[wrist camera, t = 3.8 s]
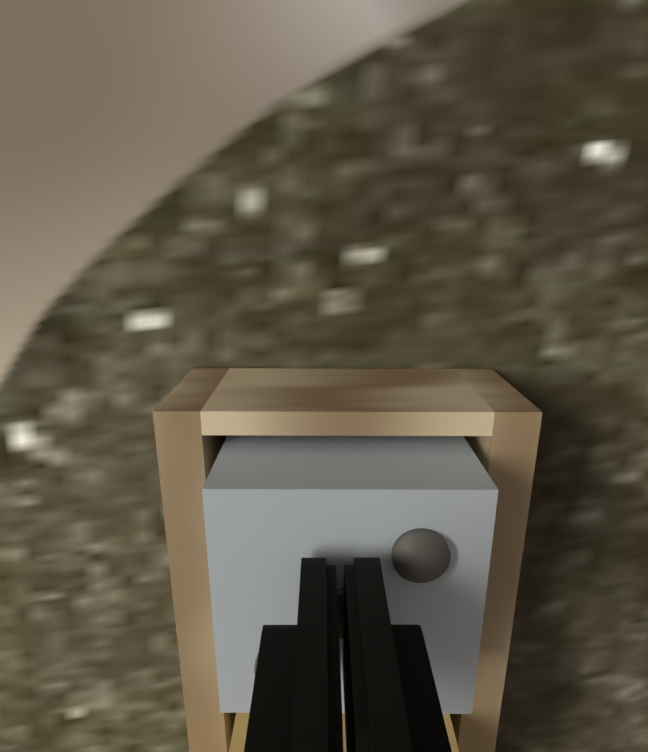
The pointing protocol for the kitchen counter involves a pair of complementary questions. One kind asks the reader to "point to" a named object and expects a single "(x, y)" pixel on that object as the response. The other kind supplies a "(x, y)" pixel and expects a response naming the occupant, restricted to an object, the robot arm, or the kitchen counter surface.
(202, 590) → the tray
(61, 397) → the kitchen counter surface
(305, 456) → the tile three blue
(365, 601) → the robot arm
